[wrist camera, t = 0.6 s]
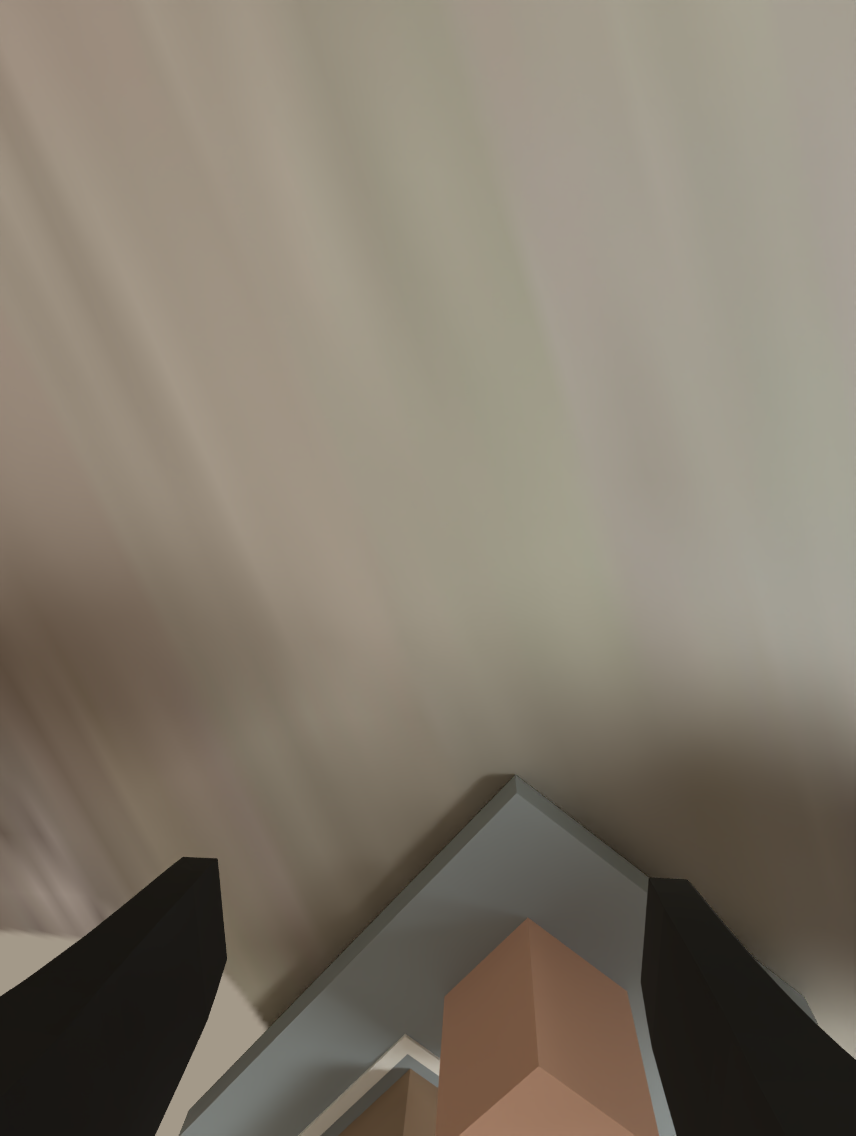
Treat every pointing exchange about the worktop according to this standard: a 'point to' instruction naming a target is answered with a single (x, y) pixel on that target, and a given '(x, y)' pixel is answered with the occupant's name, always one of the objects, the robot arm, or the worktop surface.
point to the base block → (400, 1110)
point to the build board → (440, 971)
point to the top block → (540, 1048)
